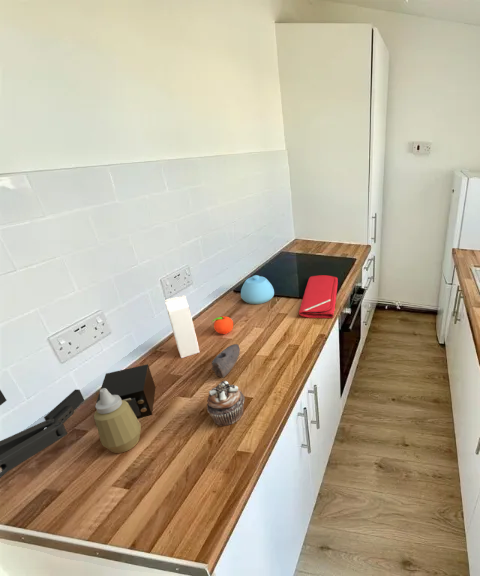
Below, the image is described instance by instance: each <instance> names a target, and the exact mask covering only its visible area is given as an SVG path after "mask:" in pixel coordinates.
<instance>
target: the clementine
mask: <svg viewBox="0 0 480 576" xmlns="http://www.w3.org/2000/svg"><path fill="white" fill-rule="evenodd" d="M212 322H214V323H213V329H214V330H215V332H217V334H220V335H226V334H229V333H230V332H232V331H233V329H234V320H233V319H232V318H230V317H229V316H225V315H223V316H219V317H218V316H217V317H216V318H214V319H213V320H212Z"/></svg>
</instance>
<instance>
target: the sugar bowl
mask: <svg viewBox="0 0 480 576" xmlns="http://www.w3.org/2000/svg"><path fill="white" fill-rule="evenodd" d="M274 296H275V289H274V286H273V285H272V283H271V281H269V280H268V279H267V278H266V277H264V276H262V275H261V276H260V275H257V274H255V275H252V276H251V277H247V279H245V281H244V283H243V285H242V287H241V289H240V299H241V300H242V301H244V302H245V303H247V304H250V305H261V304H265V303H268V302H269V301H271V300H272V299H273V297H274Z"/></svg>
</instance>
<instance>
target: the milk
mask: <svg viewBox="0 0 480 576" xmlns="http://www.w3.org/2000/svg"><path fill="white" fill-rule="evenodd" d="M164 303H165V308H166V312H167V315H168V318H169V322H170V327H171V329H172V333H173V336H174V337H173V338H174V340H175V343H176V348H177V350H178V354H179V356H180V359H184V358H188V357H190V356H193V355H196V354H200V352H201V351H200V346H199V343H198V338H197V333H196V329H195V325H194V321H193V318H192V313H191V309H190V305H189V303H188V300H187V296H186V295H180V296H176V297H170V298H167V299H166V298H165V300H164Z"/></svg>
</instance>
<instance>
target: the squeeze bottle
mask: <svg viewBox="0 0 480 576" xmlns="http://www.w3.org/2000/svg"><path fill="white" fill-rule="evenodd" d="M99 393H100V400H99V401H98V402H97V403H95V410H96V411H95V412H94V415H93V419H94V422H95V426H96V430H97V434H98V437H99V440H100V444H101V445H102V446H103V447H104V448H106V449H107V450H108V451H110V452H112V453H113V454H114V453H115V454H122V453H126V452H128V451H129V450H131V449H133V448H134V447H135V446H136V445H137V444H138V443H139V441H140V440H141V439H140V438H141V431H142V424H141V422H140V421H139V418H138V419H137V417H136V416H135V414H134V412H133V411H132V409H131V407H130V406H129V404H128V403H127V402H126V401H125V400H121V398H120V396H119V395H111V394H110V392H109V391H108V390H107V389H106V388H102V389H101V388H100V389H99Z"/></svg>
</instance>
